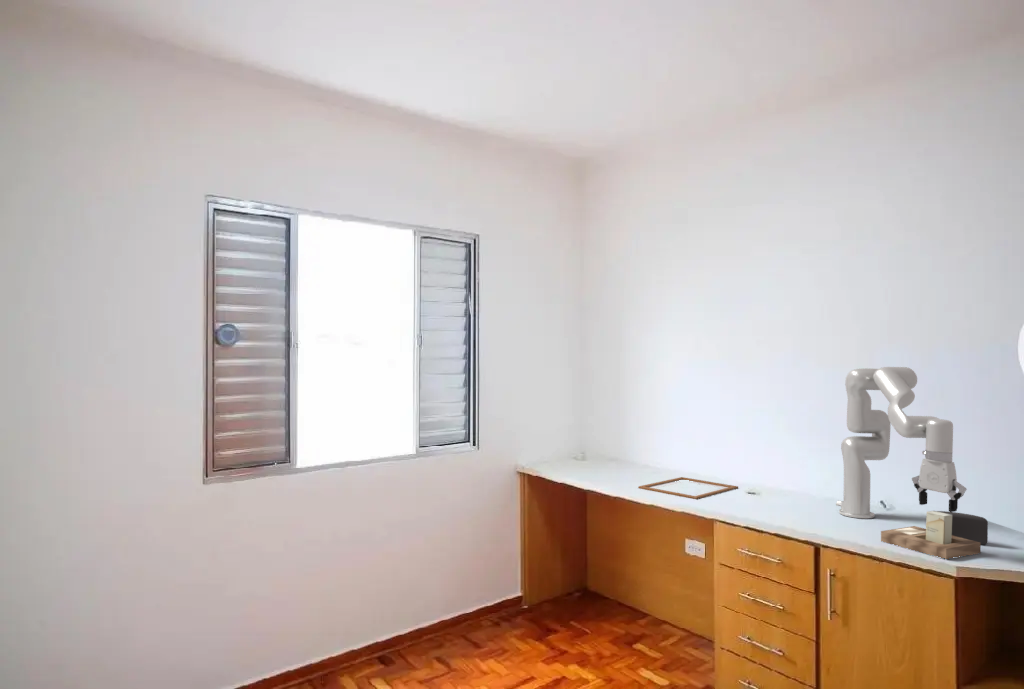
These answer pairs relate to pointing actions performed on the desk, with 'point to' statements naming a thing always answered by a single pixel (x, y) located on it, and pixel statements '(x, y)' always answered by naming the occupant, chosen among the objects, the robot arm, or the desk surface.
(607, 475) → the desk surface
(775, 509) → the desk surface
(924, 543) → the walnut stand
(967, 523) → the leaning round-cornered charcoal block
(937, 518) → the skincare box
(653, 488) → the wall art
